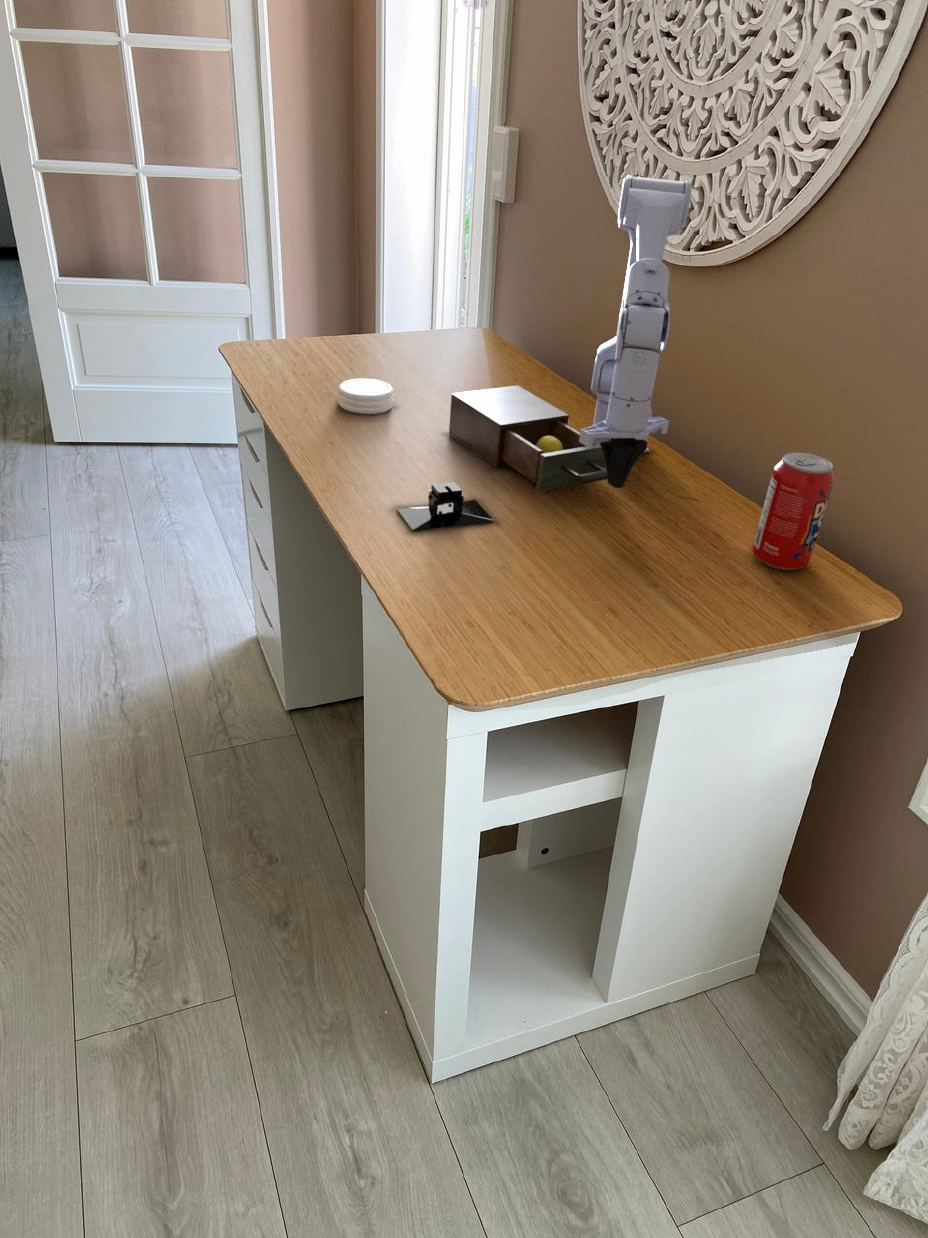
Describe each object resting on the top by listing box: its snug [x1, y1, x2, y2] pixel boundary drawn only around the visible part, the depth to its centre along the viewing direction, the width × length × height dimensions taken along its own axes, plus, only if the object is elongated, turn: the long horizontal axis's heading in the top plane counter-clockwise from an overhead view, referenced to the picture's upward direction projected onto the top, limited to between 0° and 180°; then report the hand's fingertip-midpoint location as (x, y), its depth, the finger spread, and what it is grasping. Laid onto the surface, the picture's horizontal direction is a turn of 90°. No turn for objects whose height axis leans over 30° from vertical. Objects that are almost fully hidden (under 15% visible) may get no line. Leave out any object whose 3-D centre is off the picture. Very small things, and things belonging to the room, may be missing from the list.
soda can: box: [752, 451, 835, 571], centre depth 128 cm, size 8×8×15 cm
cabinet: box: [448, 384, 570, 469], centre depth 159 cm, size 15×13×7 cm
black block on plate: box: [396, 481, 494, 533], centre depth 135 cm, size 12×7×5 cm, turn 112°
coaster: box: [337, 378, 394, 415], centre depth 171 cm, size 10×10×4 cm
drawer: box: [500, 420, 608, 492], centre depth 148 cm, size 20×12×6 cm, turn 31°
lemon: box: [536, 436, 563, 454], centre depth 151 cm, size 6×4×4 cm
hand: (615, 484), depth 137 cm, fingers closed
